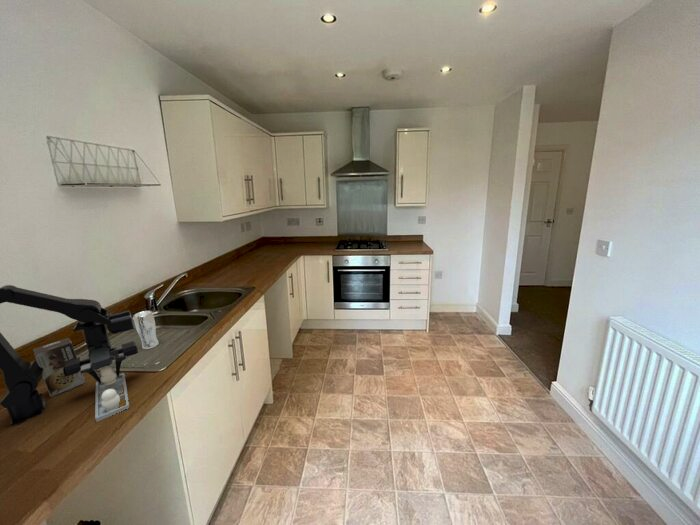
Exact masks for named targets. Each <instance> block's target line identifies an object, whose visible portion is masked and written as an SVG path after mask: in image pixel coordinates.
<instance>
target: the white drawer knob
mask: <svg viewBox="0 0 700 525" xmlns="http://www.w3.org/2000/svg"><path fill="white" fill-rule="evenodd" d="M101 399H102V402H101V405H102V407H103V408H105V409H106V411H107V412H110V411H112V410H115V409H117V408H118V407H119V402H120V396H119V395H118V394H117V392H116V390H114V389H107V390H105V391H104V392H103V393H102V395H101Z"/></svg>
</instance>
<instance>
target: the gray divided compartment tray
mask: <svg viewBox="0 0 700 525" xmlns="http://www.w3.org/2000/svg"><path fill="white" fill-rule="evenodd" d="M122 387H123V388H124V394H121V395H119V394H120V393H122V392H123V390H122ZM107 389H114V390H116V392H117V394H118V395H119V396H120V399H122V398H124V397H125V400H126V405H125V406H122V407H120V408H117V409H115V410H112V411H110V412H107V411H106V409H105V408H103V407H102V405H101V402H102V399H101V395H102V393H103V392H104V391H105V390H107ZM120 389H121V390H122V391H121V390H120ZM128 400H129V395H128V388H127V382H126V375H125V372H122V373H119V377H116V382H115V383H114V384H112V385H109V386H105V385H104V383H103V382H101V383H99V382H98V381H96V382H95V403H94V404H95V408H94V409H95V410H94V412H95V414H94V419H95V422H96V423H98V422H101V421H103V420H105V419H108V418H110V417H112V415H113V416H115V415H117V414H119V412H120V413H122V412H124V411H123V410H125V409H127V410H129V409H130V408H129V407H130V400H129V401H128ZM128 408H129V409H128ZM121 411H122V412H121ZM125 411H126V410H125ZM116 413H117V414H116Z"/></svg>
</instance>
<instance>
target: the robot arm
mask: <svg viewBox="0 0 700 525" xmlns="http://www.w3.org/2000/svg"><path fill="white" fill-rule="evenodd" d="M4 303H9V304H13V305H14V304H15V305H20V306H23V307H24V306H25V307H29V308H35V309H39V310H44V311H49V312H54V313H58V314H62V315H64V316H65V317H67V318H69V319H72V320H75V321H77V323H76V324H75V325H74V327H73V329H72V332H79V331H81V332H82V334H83V338H84V341H85V344H86V348H87V351H88V358H86V359H85V358H84V359H83V360H82V358H81V357H77V358H76V359H73V360H69V361H66V362H65V364H64V367H63V372H64V375H65V376H70V375H73V374H76V373H79V371H80V370H81V373H82V374H89V375H90V376H92V378H94V380H96V382H99V383H101V380H100V376H101V375H100V373H99V372H98V370H101V368H103V367H105V366H109V365H110V366H112V364H113V361H114V362H115V371H116V374H117V377H119V374H120V370H121V366H122V362H123V361H125V360H126V359H127V358H128V357H130V356H135V355H136V354H138V353H139V350H138V346H137V343H136V341H129V342H126V343H123V344H121V348H117V346H114V347H112V344H111V341H110V337H109V333H111V334H113V335H117V334H121V333H125V332H128V331H132V330H136V327H135V323H134V317H133V316H132V312H130V310H129V309H128V310H124V311H121V312H116V313H113V314H112V312H110V310H107V309H106V308H103V307H102V305H101V304H100V302H99V301H97V300H95V299H86V298H85V299H84V298H67V297H66V298H65V297H60V296H57V295H54V294H53V295H52V294H47V293H43V292H38V291H35V290H34V291H33V290H29V289H25V288H21V287H17V286H15V285H11V284H7V285H3V286H1V287H0V305H1V304H4ZM43 370H44V369H43V368H41V367H40V366H39V365H38V363H37V361H36V360H35V359H34V360H33V361H31V362H29V361H26V360H24V359H22V357H21V356H20V354H19V353H18V352H17V351H16V350H15V349H14V347H13V346H12V345H11V344H10V342H9V341H8V340H7V339H6V337H5V336H4V335H3V334H2V333H1V332H0V371H1V372H2V376H3V381H4V385H5V387H6V389H7V392H6V394H5V395H4V397H3V398H2V400H1V401H0V405H1V406H2V407H4V408H5V409H6V410H7V413H8V415H9V418H10V420H11V421H10V424H9V425H10V426H14V425H15V424H18V423H21V422H24V421H27V420H28V419H31V418H34V417H37V416H40V415H41V414H43V412H44V409H45V407H46V401H45V398H44V397H43V393H39V391H38V388H37V387H38V386H39V384H40V382H41V381H42V379H43V373H42V371H43Z"/></svg>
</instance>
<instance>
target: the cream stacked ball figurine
mask: <svg viewBox="0 0 700 525" xmlns="http://www.w3.org/2000/svg"><path fill="white" fill-rule="evenodd" d="M99 376H100V380H101V382H103V383H104V385H105V386H109V385H112V384H114V383H115V382H116V377H117V374H116V370H115V369H114V367H113V366H112V365H109V366H105V367H102V368H100V369H99Z"/></svg>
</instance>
